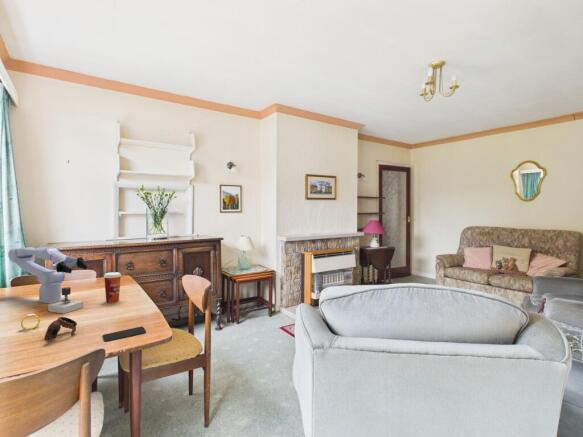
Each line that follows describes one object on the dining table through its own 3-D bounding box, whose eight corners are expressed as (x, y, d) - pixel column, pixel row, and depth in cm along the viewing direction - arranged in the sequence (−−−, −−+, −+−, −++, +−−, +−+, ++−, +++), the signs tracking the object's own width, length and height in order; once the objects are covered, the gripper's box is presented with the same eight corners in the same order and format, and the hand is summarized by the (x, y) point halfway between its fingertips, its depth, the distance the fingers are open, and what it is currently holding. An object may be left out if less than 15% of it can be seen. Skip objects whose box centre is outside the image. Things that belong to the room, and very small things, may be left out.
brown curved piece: (49, 333, 125) (62, 314, 127) (71, 343, 126) (84, 324, 128) (32, 338, 113) (46, 317, 116) (56, 348, 114) (70, 327, 117)
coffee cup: (113, 303, 161) (113, 275, 161) (100, 302, 163) (99, 274, 162) (124, 299, 169) (124, 272, 169) (112, 297, 171) (112, 271, 170)
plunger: (59, 302, 150) (59, 288, 150) (67, 300, 154) (66, 287, 153) (65, 303, 149) (65, 289, 149) (72, 301, 153) (72, 287, 152)
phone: (102, 334, 123) (142, 326, 132) (102, 336, 123) (142, 327, 132) (104, 341, 117) (146, 331, 126) (104, 343, 117) (146, 333, 126)
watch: (39, 326, 131) (40, 312, 131) (39, 328, 129) (40, 314, 129) (20, 328, 127) (22, 314, 127) (20, 330, 125) (21, 316, 125)
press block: (48, 311, 148) (48, 305, 148) (68, 304, 158) (68, 299, 158) (63, 313, 145) (63, 307, 145) (83, 307, 155) (83, 301, 155)
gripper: (46, 255, 153) (64, 265, 148) (76, 250, 166) (93, 259, 161) (45, 268, 154) (63, 278, 150) (75, 261, 167) (91, 271, 163)
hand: (78, 269), depth 156 cm, fingers open, 7 cm apart
